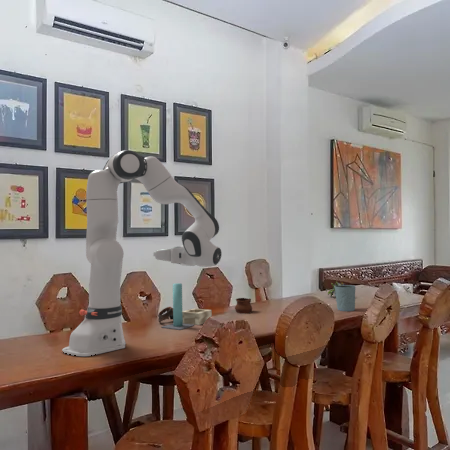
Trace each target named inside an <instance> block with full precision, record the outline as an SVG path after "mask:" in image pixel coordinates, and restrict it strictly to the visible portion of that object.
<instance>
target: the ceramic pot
mask: <svg viewBox="0 0 450 450" xmlns="http://www.w3.org/2000/svg"><path fill="white" fill-rule="evenodd" d="M235 301H236V305H235V307H234V310H235V312H236V313H237V314H250V313H249V312H251V313H252V310H253V306H252V304H251V302H252V298H247V297H238V298H236V299H235Z"/></svg>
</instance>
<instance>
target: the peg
mask: <svg viewBox="0 0 450 450" xmlns="http://www.w3.org/2000/svg"><path fill="white" fill-rule="evenodd" d="M172 308H173V319H172V320H173V321H172V322H173V323H172V324H173V326H174V327H180V326H183V315H182V311H183V284H182V283H178V282H177V283H172Z"/></svg>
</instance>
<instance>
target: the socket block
mask: <svg viewBox="0 0 450 450" xmlns="http://www.w3.org/2000/svg"><path fill="white" fill-rule="evenodd" d="M212 311H213V310H212V309H205V308H197V307H196V308H195V307H193V308H191V309H187V310H182V315H183V323H184V324H192V325H194V326H199V325H204V324H205V323H204V322H205V321H206V320H207V319H208V318H209V317H212V318H213V314H212V313H213V312H212Z"/></svg>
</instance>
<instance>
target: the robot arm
mask: <svg viewBox="0 0 450 450" xmlns="http://www.w3.org/2000/svg"><path fill="white" fill-rule="evenodd" d="M132 180H137V181H139V182H140V183H141V184H143V187H144V188H145V190H146V191H147V193H148V194H149V195H150V197H151V198H152V199H153V200H154V202H155V203H157V204H159V205H170V204H177V203H178V204H181V205H183V207H185V209H186V210H187V211H188V212H189V213H190V215H192V217H193V218H194V222H193V223H192V224H191V225H190V226H188V228H186V230H185V231H184V232H183V233H182V235H181V242H182V245H179V246H174V247H170V248H164V249H157V250H155V251H153V253H152V254H153V255H152V256H153V257H154V259H156V260H157V261H165V262H170V263H171V264H178V265H181V266H186V267H187V266H189V267H194V266H198V267H203V268H204V267H215V266H217V265H218V264H219V262H221V258H222V249H221V247H219V246H216V245H215V244H213V242H211V240H212V239H213V238H215V236H217V234H218V233H219V231H220V225H219V221H218V219H217V218H215V216H213V215H212V214H211V213H210V211H208V210H207V209H206V208H205V207H204V206H203V205H202V203H201V202H200V201H199V200H198V198H196V196H195V195H194V194H193V193H192V191H191V190H190V189H189V188H187V186H185V185H183V184H180V183H178V182H177V181H176V180H175V179H174V177H173V176H172V174H171V173H170V171H169V169H167V168H166V166H165V165H164V164H163V163H162V162H161V161H160V159H158V158H157V157H156V156H152V155H150V156H144V157H143V156H142V155H140V154H138V153H137V152H136V151H133V150H130V149H127V150H125V149H124V150H121V151H119V152H116V153H114V154H113V155H112V156H111V157H110V158H109V159H108V160H107V161H106V162H105V165H104V167H103V168H102V169H97V170H96V169H95V170H94V171H91V172H90V173H89V175H88V177H87V183H86V192H85V193H86V194H85V195H86V201H85V202H86V222H87V223H86V234H85V235H86V236H85V237H86V238H85V256H86V259H87V261H88V263H90V275H89V283H88V307H87V310H86V309H80V310H79V312H78V313H79V315H80V316H84V320H83V321H81V323H80V324H79V325H78V326H77V327H76V328H75V329H73V331H71V334H70V335H69V342H68V346H65V347H64V348H62V349H61V352H62V351H63V352H64V353H63V352H62V353H63V354H65V353H67V354H66V355H69V354H71V355H70V356H74V355H76V356H75V357H91V355H92V356H94V355H95V354H96V355H101V354H104V353H105V354H106V353H108V352H113V351H117V350H121V349H125V348H126V340H125V336H124V331H123V323H122V314H123V308H122V305H121V279H122V278H121V277H122V272H123V260H124V249H123V246H122V245H121V243H120V242H118V240H117V235H118V234H117V232H118V226H119V225H118V224H119V205H118V204H119V202H118V200H119V199H118V187H119V185H121V184H123V183H128V182H131V181H132ZM96 355H95V356H96Z"/></svg>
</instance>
